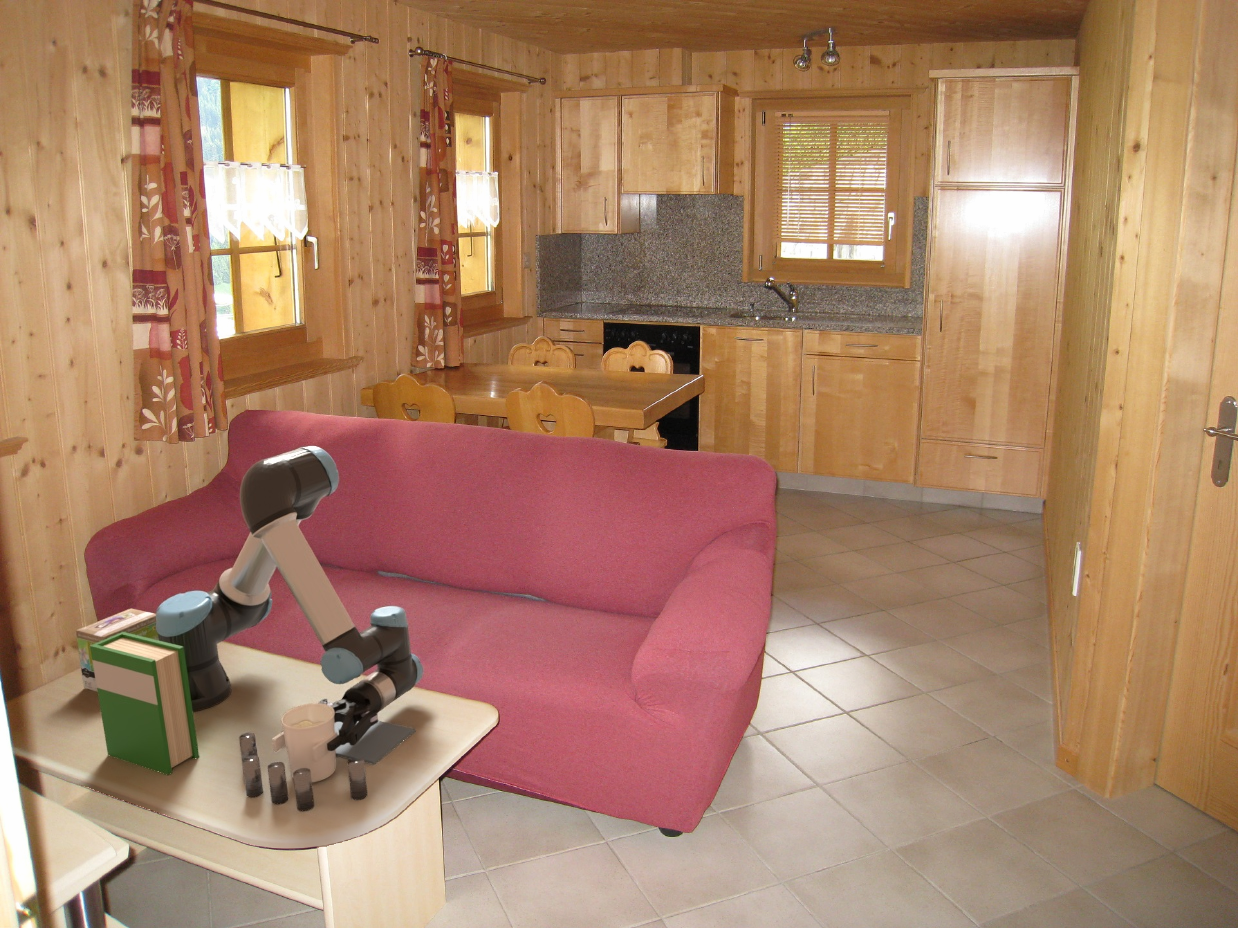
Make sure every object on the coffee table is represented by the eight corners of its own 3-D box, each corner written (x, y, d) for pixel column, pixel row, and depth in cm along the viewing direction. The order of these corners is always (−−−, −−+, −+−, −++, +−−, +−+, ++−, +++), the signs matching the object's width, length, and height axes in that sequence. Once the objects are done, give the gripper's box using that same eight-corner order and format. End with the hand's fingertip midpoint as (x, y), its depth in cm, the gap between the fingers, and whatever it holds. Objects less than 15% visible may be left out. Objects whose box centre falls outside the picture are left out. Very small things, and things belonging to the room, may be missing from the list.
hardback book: (199, 756, 202) (183, 646, 196) (168, 775, 195) (151, 661, 189) (139, 738, 209) (123, 631, 204) (108, 755, 203) (89, 645, 197)
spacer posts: (214, 788, 190) (210, 754, 188) (250, 763, 199) (246, 731, 197) (337, 820, 179) (334, 785, 177) (370, 792, 187) (367, 759, 186)
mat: (301, 747, 204) (301, 744, 204) (345, 716, 216) (345, 713, 216) (374, 764, 197) (374, 761, 197) (415, 731, 209) (415, 728, 209)
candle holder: (293, 759, 199) (287, 704, 196) (344, 756, 199) (338, 701, 196) (281, 786, 189) (275, 729, 186) (334, 783, 190) (329, 726, 187)
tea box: (113, 696, 228) (103, 636, 225) (83, 689, 232) (73, 629, 229) (167, 669, 241) (158, 612, 238) (138, 662, 246) (129, 606, 242)
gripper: (412, 723, 205) (341, 779, 185) (328, 704, 213) (251, 756, 193) (410, 689, 203) (338, 743, 183) (325, 672, 212) (247, 721, 192)
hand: (293, 750), depth 188 cm, fingers closed on candle holder, 9 cm apart
